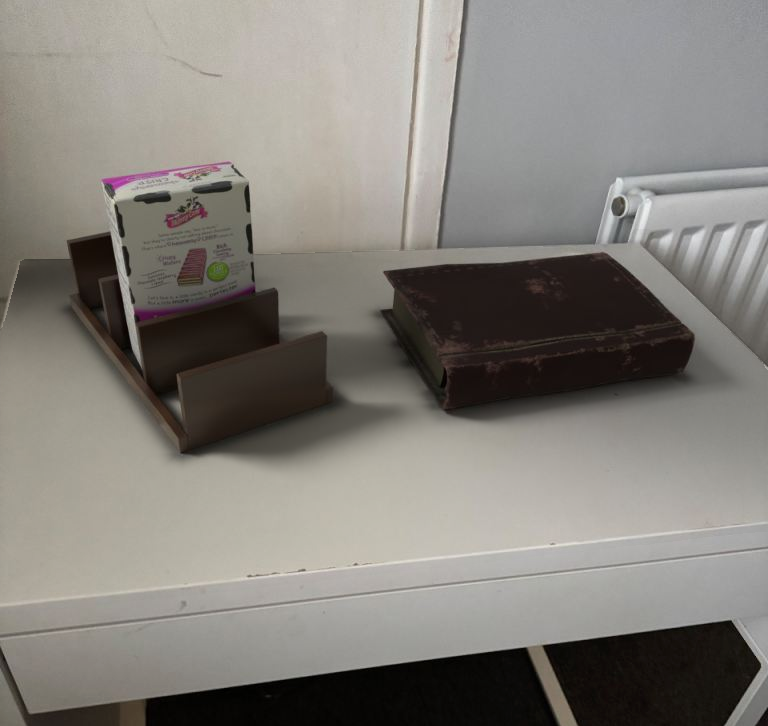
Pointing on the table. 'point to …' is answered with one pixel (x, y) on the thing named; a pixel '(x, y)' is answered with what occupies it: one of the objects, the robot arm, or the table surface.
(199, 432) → the rack
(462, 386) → the diary
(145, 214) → the candy bar box
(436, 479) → the table surface
